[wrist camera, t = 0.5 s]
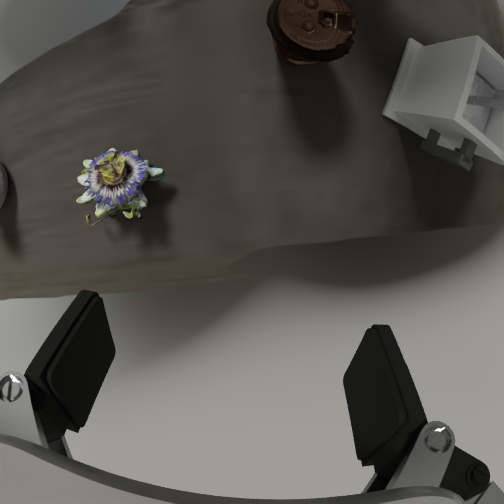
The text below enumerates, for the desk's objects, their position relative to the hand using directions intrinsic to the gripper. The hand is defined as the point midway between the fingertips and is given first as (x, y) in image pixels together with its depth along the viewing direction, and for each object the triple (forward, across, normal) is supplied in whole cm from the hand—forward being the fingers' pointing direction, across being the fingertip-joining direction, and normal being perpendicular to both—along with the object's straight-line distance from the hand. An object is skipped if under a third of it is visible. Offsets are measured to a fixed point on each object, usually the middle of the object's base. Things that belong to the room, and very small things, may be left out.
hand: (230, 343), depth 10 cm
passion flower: (+32, +18, +5) cm, 37 cm away
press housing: (+32, -24, -14) cm, 42 cm away
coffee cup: (+32, -4, -16) cm, 36 cm away
